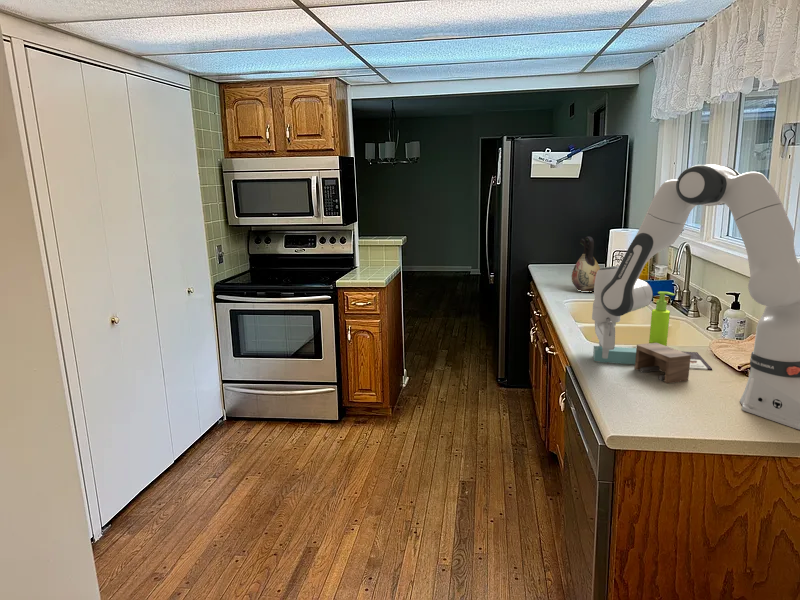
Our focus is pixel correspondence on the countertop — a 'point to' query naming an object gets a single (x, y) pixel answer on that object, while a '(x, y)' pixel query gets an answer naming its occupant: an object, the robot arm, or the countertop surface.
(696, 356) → the chocolate bar
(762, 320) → the robot arm
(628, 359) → the case
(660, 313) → the soap dispenser
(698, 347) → the countertop surface
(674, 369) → the shelf
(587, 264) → the ceramic jug
